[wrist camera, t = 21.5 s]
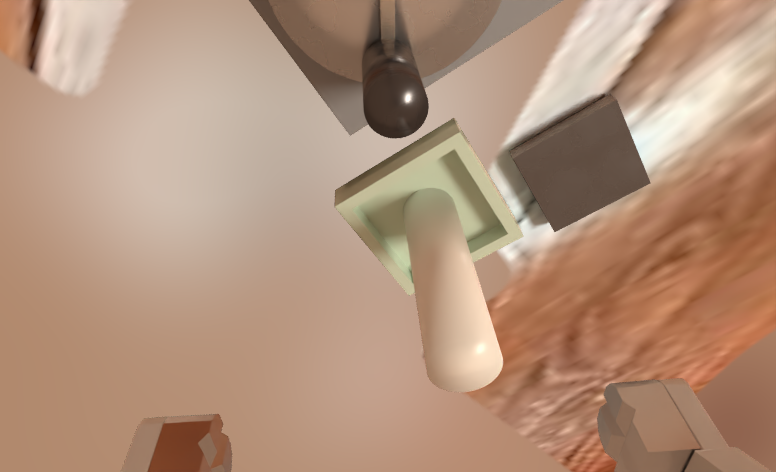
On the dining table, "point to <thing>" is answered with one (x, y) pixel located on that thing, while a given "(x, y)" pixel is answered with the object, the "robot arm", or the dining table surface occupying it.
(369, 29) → the crank
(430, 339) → the pin
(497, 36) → the crank base
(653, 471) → the robot arm
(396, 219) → the tray
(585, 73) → the dining table surface
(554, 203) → the socket plate
